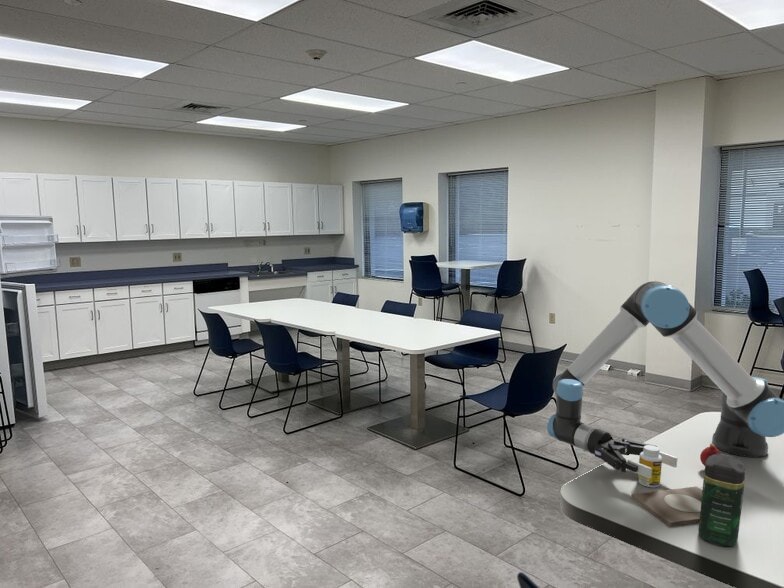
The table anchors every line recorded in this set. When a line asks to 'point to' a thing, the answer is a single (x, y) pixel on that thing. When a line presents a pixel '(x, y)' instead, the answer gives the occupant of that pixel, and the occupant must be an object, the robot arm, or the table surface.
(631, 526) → the table surface
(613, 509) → the table surface
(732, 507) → the coffee jar
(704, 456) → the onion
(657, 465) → the supplement bottle
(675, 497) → the brown flat board
